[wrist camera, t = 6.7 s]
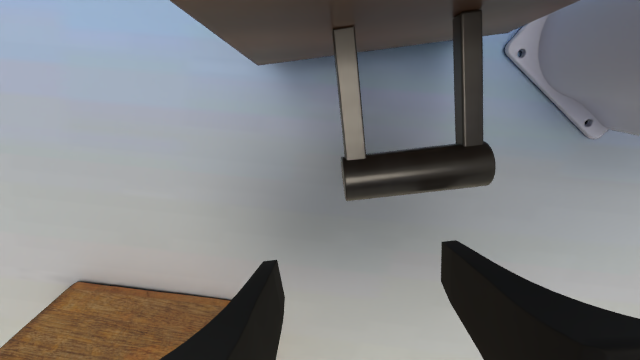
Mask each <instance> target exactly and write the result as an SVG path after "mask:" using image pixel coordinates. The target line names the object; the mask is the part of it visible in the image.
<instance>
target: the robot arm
mask: <svg viewBox="0 0 640 360" xmlns="http://www.w3.org/2000/svg"><path fill="white" fill-rule="evenodd" d="M519 50H521V51H522V55H521V56H520V57H518V56H517V53H518V51H519ZM505 53H506V55H507V56H508V57H509V58H510V59H511V60H512V61H513V62H514V63H515V64H516V65H517V66H518V67H519V68H520V69H521V70H522V71H523V72H524V73H525V74H526V75H527V76H528V77H529V78H530V79H531V80H532V81H533V82H534V83H535V84H536V86H537V87H538V88H539V89H540V90H541V91H542V92H543V93H544V94H545V95H546V96H547V97H548V98H549V99H550V100H551V101H552V102H553V103H554V104H555V105H556V106H557V107H558V108H559V109H560V110H561V111H562V112H563V113H564V114H565V115H566V116H567V117H568V118H569V119H570V120H571V121H572V122H573V123H574V124H575V125H576V126H577V127H578V128H579V129H580V130H581V131H582V132H583V133H584V134H585V135H586V136H587V137H588V138H591V139H598V138H600V137H601V136H602V135H603V134H604V133H605V132H607V131H608V130H614V131H618V132H623V133H628V134H633V135H637V136H640V0H580V1H577V2H575V3H573V4H571V5H568V6H566V7H564V8H562V9H559V10H557V11H555V12H553V13H551V14H548V15H546V16H544V17H542V18H539V19H537V20H535V21H533V22H530V23H528V24H526V25H524V26H523V27H522V28H521V29H520V30H519V31H518V32H517V34H516V35H515V36H514V37H513V38H512V39H511V40H510V41H509V42H508V44H507V45H506V47H505ZM586 120H588V122H587V124H586V125H584V124H585V122H586ZM441 282H442V284H443V287H444V289H445V292H446V294H447V296H448V298H449V301H450V303H451V305H452V306H453V308H454V310H455V311H456V313H457V315H458V316H459V318H460V320H461V322H462V323H463V325H464V327H465V328H466V330H467V332H468V333H469V335H470V337H471V338H472V340H473V342H474V343H475V345H476V347H477V348H478V350H479V352H480V354H481V355H482V357H483V359H484V360H640V319H638V318H634V317H630V316H626V315H622V314H619V313H615V312H612V311H609V310H605V309H602V308H598V307H595V306H592V305H589V304H586V303H583V302H580V301H578V300H575V299H572V298H569V297H566V296H564V295H561V294H559V293H556V292H553V291H551V290H549V289H546V288H544V287H542V286H539V285H537V284H535V283H533V282H530V281H528V280H526V279H524V278H522V277H520V276H518V275H516V274H514V273H512V272H510V271H508V270H507V269H505V268H503V267H501V266H499V265H497V264H496V263H494V262H492V261H490V260H489V259H487V258H485V257H484V256H482V255H480V254H479V253H477V252H475V251H474V250H472V249H470V248H469V247H467V246H465V245H463V244H462V243H460V242H458V241H447V242H442V257H441ZM284 300H285V297H284V292H283V287H282V282H281V277H280V272H279V267H278V262H277V260H272V261H263V263H262V264H261V265H260V266H259V268H258V269H257V270H256V271H255V273H254V274H253V275H252V276H251V278H250V279H249V280H248V282H247V283H246V284H245V285H244V286H243V288H242V289H241V290H240V291H239V292H238V294H237V295H236V296H235V297H234V298H233V299H232V300H231V301H230V302H229V303H228V305H227V306H226V307H225V308H224V309H223V310H222V311H221V312H220V313H219V314H218V315H217V316H215V317H214V318H213V319H212V320H211V321H210V322H209V323H208V324H207V325H205V326H204V327H203V328H202V329H201V330H199V331H198V332H197V333H195V334H194V335H193V336H192V337H190V338H189V339H188V340H187V341H185V342H184V343H183V344H181V345H180V346H178V347H177V348H176V349H174V350H173V351H171V352H170V353H168V354H167V355H165V356H164V357H162V358H161V359H159V360H276V355H277V350H278V345H279V339H280V334H281V329H282V323H283V316H284Z"/></svg>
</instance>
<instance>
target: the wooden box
mask: <svg viewBox="0 0 640 360" xmlns="http://www.w3.org/2000/svg"><path fill="white" fill-rule="evenodd" d="M229 302H230V301H229V300H220V299H215V298H206V297H198V296H191V295H181V294H173V293H164V292H155V291H146V290H139V289H132V288H124V287H116V286H106V285H99V284H91V283H83V282H76V283H74V284H73V285H72V286H70V287H69V288H68V289H67V290H65V291H64V292H63V293H62V294H61V295H60V296H59V297H58V298H56V299H55V300H54V301H53V302H52V303H51V304H50V305H49V306H47V307H46V308H45V309H44V310H43V311H42V312H40V313H39V314H38V315H37V316H36V317H35V318H34V319H32V320H31V321H30V322H29V323H28V324H27V325H26V326H25V327H23V328H22V329H21V330H20V331H19V332H18V333H17V334H16V335H14V336H13V337H12V338H11V339H10V340H9V341H8V342H7V343H6V344H4V345H3V346H2V347H1V348H0V360H159V359H161V358H162V357H164V356H165V355H167V354H168V353H170V352H171V351H173V350H174V349H176V348H177V347H178V346H180V345H181V344H183V343H184V342H185V341H187V340H188V339H189V338H190V337H192V336H193V335H194V334H195V333H197V332H198V331H199V330H201V329H202V328H203V327H204V326H205V325H207V324H208V323H209V322H210V321H211V320H212V319H213V318H214V317H215V316H217V315H218V314H219V313H220V312H221V311H222V310H223V309H224V308H225V307H226V306H227V305H228V303H229Z"/></svg>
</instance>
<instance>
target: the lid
mask: <svg viewBox="0 0 640 360" xmlns="http://www.w3.org/2000/svg"><path fill="white" fill-rule="evenodd" d="M170 1H171V2H172V3H174V4H175V5H176V6H178V7H179V8H181V9H182V10H183V11H185V12H186V13H187V14H189V15H190V16H191V17H193V18H194V19H195V20H197V21H198V22H199V23H201V24H202V25H204V26H205V27H206V28H208V29H209V30H210V31H212V32H213V33H214V34H216V35H217V36H218V37H220V38H221V39H222V40H224V41H225V42H227V43H228V44H229V45H231V46H232V47H233V48H235V49H236V50H237V51H239V52H240V53H241V54H243V55H244V56H245V57H247V58H248V59H250V60H251V61H252V62H254V63H255V64H256V65H265V64H273V63H281V62H288V61H296V60H304V59H311V58H319V57H327V56H334V58H335V67H336V77H337V86H338V96H339V106H340V115H341V125H342V135H343V144H344V154H345V157H341V168H342V178H343V186H344V194H345V199H346V201H353V200H362V199H371V198H380V197H389V196H398V195H406V194H415V193H424V192H433V191H442V190H451V189H460V188H469V187H478V186H486V185H489V184H490V183H491V182H492V180H493V178H494V175H495V158H494V154H493V151H492V149H491V147H490V146H489V145H488V144H487V143H486V142H484V141H483V50H482V36H488V35H495V34H503V33H508V32H510V31H513V30H515V29H517V28H519V27H521V26H524V25H526V24H528V23H530V22H533V21H535V20H537V19H539V18H542V17H544V16H546V15H548V14H551V13H553V12H555V11H557V10H559V9H562V8H564V7H566V6H568V5H571V4H573V3H575V2H577V1H580V0H170ZM449 40H453V57H454V95H455V133H456V144H449V145H440V146H432V147H423V148H414V149H406V150H397V151H389V152H380V153H372V154H366V150H365V138H364V127H363V116H362V105H361V93H360V82H359V71H358V60H357V52H365V51H373V50H380V49H388V48H396V47H403V46H411V45H419V44H426V43H434V42H442V41H449Z"/></svg>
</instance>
